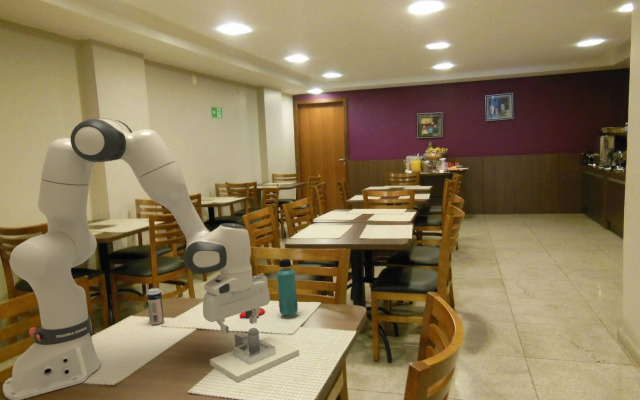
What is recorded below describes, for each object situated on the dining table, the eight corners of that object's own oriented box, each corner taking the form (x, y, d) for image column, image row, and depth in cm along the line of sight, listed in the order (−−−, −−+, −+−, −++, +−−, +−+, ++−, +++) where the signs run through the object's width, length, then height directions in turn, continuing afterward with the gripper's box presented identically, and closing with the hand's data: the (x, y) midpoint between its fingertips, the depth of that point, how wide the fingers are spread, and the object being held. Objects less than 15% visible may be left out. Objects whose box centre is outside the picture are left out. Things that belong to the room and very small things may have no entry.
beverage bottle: (297, 319, 152) (294, 261, 150) (278, 319, 153) (274, 262, 150) (298, 312, 159) (295, 257, 157) (280, 313, 159) (276, 257, 157)
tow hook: (245, 310, 165) (237, 318, 156) (243, 276, 164) (235, 282, 155) (267, 310, 164) (260, 318, 155) (265, 275, 163) (258, 282, 154)
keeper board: (237, 382, 112) (235, 347, 111) (210, 364, 122) (207, 333, 121) (299, 354, 125) (297, 323, 124) (269, 341, 136) (267, 312, 135)
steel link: (225, 350, 127) (224, 337, 126) (250, 341, 132) (249, 328, 132) (250, 364, 118) (249, 350, 117) (275, 353, 123) (274, 339, 123)
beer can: (167, 321, 157) (164, 288, 155) (155, 326, 153) (152, 292, 151) (158, 319, 159) (155, 287, 158) (146, 324, 155) (143, 290, 154)
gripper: (260, 270, 135) (262, 314, 137) (198, 286, 122) (201, 335, 123) (273, 274, 131) (275, 320, 132) (210, 291, 117) (213, 341, 119)
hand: (239, 327), depth 128 cm, fingers open, 8 cm apart
